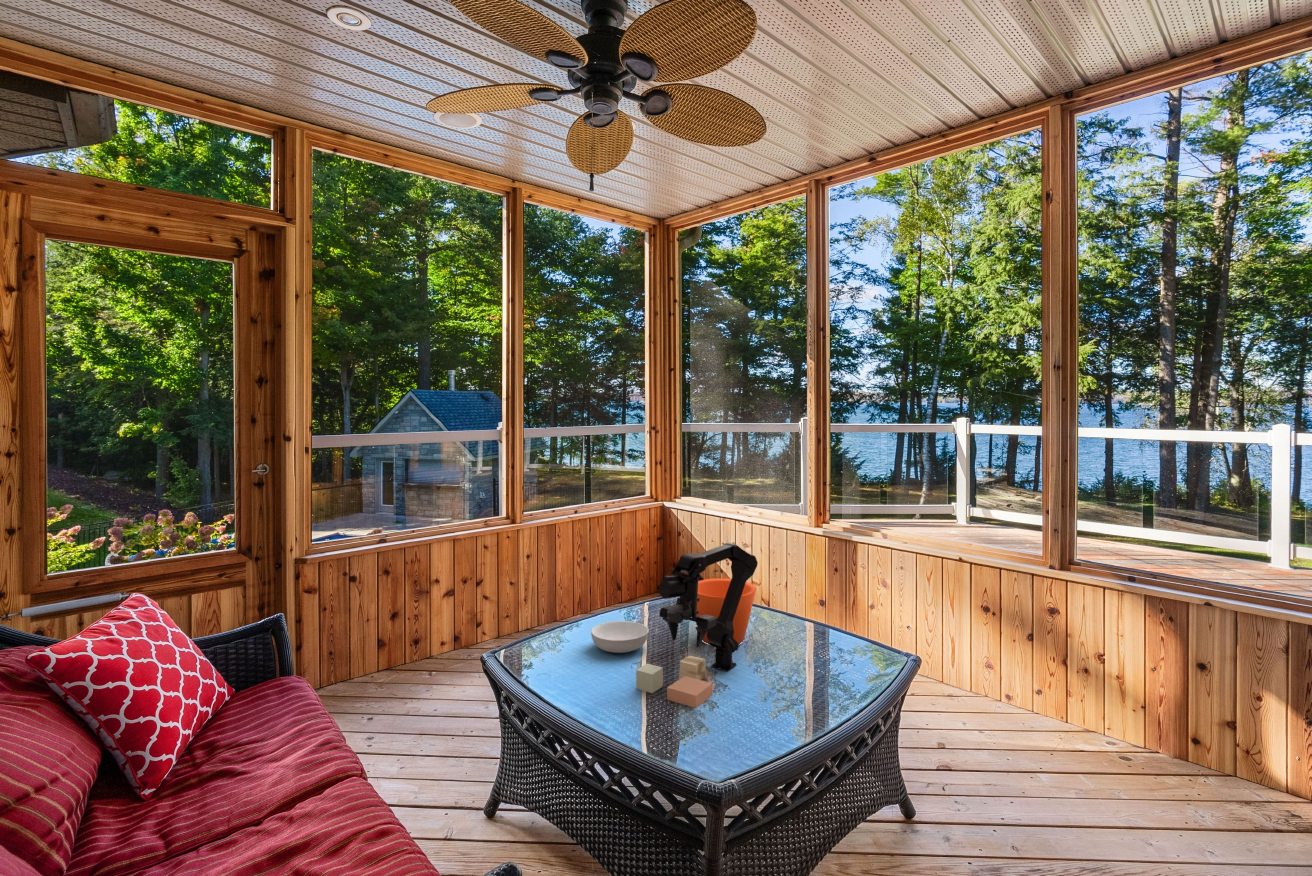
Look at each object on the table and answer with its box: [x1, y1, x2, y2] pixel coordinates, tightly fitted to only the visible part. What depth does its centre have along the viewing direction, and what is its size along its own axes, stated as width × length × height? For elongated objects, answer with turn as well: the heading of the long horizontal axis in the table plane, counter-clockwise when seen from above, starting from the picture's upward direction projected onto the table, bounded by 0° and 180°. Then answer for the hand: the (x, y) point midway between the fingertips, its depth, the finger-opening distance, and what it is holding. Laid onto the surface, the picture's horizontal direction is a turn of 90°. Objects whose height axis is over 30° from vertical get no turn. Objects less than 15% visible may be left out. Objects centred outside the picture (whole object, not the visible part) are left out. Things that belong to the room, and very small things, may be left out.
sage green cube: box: [635, 663, 664, 694], centre depth 202 cm, size 6×6×6 cm
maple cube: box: [679, 654, 706, 681], centre depth 209 cm, size 6×6×6 cm
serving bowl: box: [590, 620, 650, 654], centre depth 235 cm, size 21×21×7 cm
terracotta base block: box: [666, 676, 714, 709], centre depth 196 cm, size 10×10×4 cm
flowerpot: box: [696, 577, 757, 645], centre depth 243 cm, size 25×25×20 cm
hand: (685, 643), depth 207 cm, fingers open, 9 cm apart
